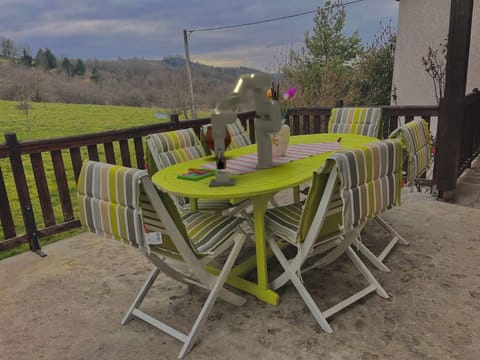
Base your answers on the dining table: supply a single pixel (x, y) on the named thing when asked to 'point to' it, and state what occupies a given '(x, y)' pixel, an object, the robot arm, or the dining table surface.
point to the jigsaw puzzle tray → (198, 174)
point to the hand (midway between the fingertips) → (221, 167)
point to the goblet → (210, 140)
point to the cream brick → (222, 177)
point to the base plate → (230, 183)
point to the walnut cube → (224, 164)
